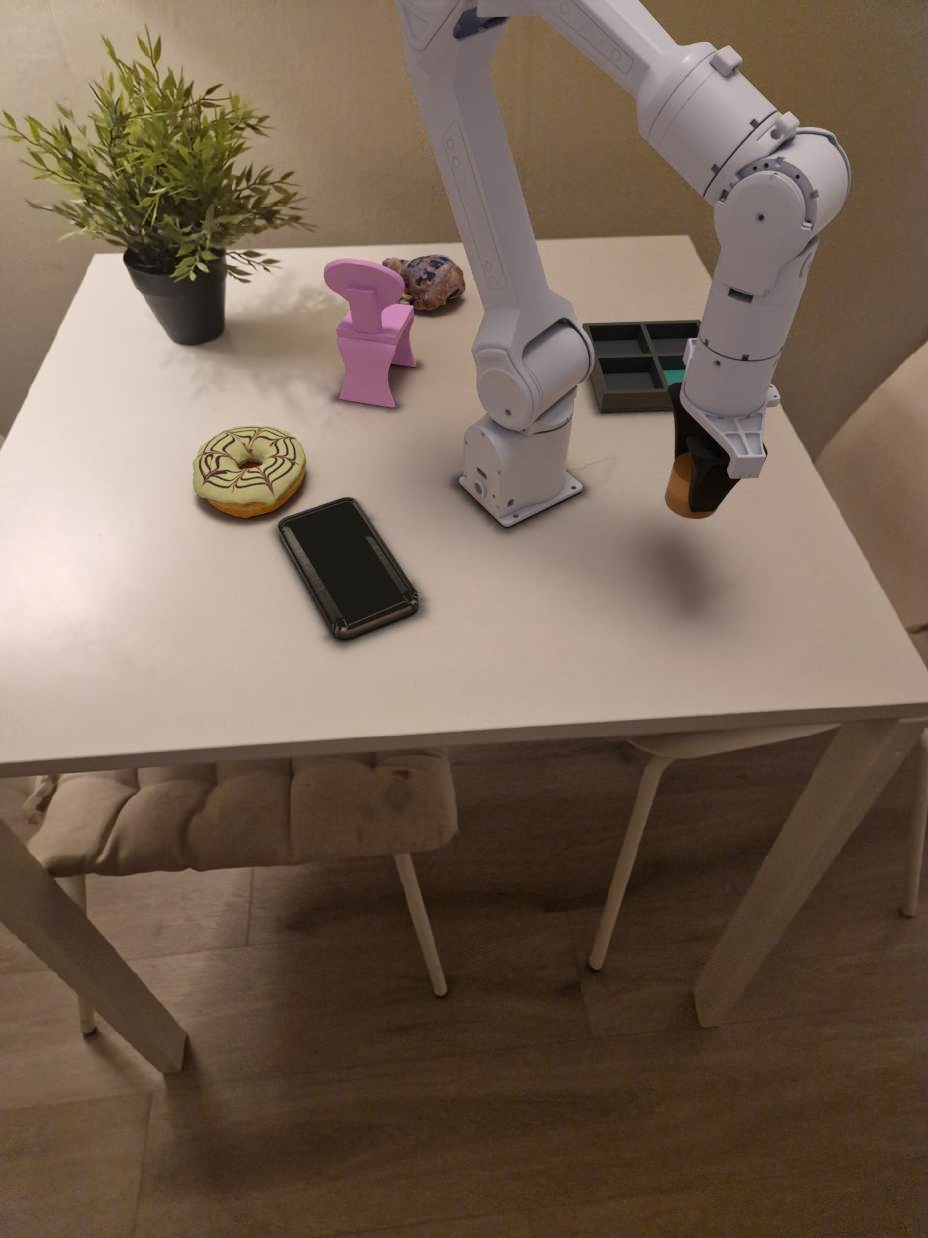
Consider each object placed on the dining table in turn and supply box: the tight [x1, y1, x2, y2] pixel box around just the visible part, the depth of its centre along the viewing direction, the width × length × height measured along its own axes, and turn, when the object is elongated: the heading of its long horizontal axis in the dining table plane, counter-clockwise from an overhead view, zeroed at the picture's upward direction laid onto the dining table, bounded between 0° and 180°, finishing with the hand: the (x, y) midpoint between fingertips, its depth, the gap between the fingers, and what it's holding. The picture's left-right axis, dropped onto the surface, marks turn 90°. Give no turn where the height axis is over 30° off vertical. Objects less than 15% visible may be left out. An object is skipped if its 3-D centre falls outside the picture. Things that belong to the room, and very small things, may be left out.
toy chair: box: [323, 257, 417, 409], centre depth 83 cm, size 8×9×15 cm
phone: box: [277, 496, 420, 640], centre depth 70 cm, size 8×1×15 cm
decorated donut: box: [192, 425, 307, 519], centre depth 76 cm, size 10×11×4 cm
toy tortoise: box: [381, 254, 467, 311], centre depth 98 cm, size 12×8×6 cm, turn 40°
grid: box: [581, 319, 702, 414], centre depth 89 cm, size 14×14×2 cm
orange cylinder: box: [664, 452, 719, 520], centre depth 65 cm, size 4×4×4 cm
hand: (694, 488), depth 65 cm, fingers closed on orange cylinder, 4 cm apart
